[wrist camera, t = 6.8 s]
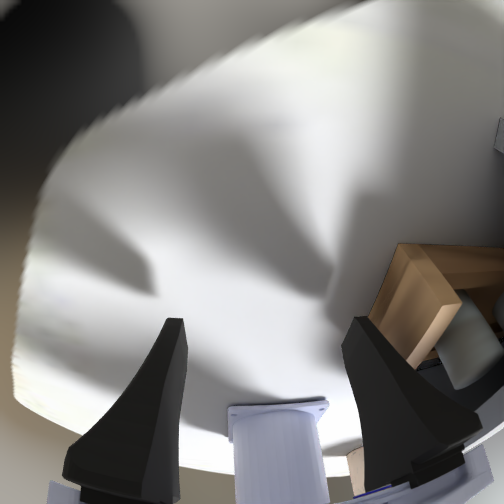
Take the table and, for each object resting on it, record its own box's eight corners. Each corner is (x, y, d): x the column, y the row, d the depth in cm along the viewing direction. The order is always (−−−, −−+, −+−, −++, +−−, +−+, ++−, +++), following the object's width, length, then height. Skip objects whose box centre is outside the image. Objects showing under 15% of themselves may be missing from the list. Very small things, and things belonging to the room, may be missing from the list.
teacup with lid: (355, 457, 39) (365, 510, 30) (336, 454, 35) (347, 517, 25) (416, 432, 35) (431, 486, 26) (407, 426, 31) (426, 491, 21)
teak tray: (503, 315, 17) (532, 361, 12) (355, 342, 16) (383, 424, 11) (541, 249, 13) (580, 295, 8) (398, 243, 12) (462, 338, 7)
